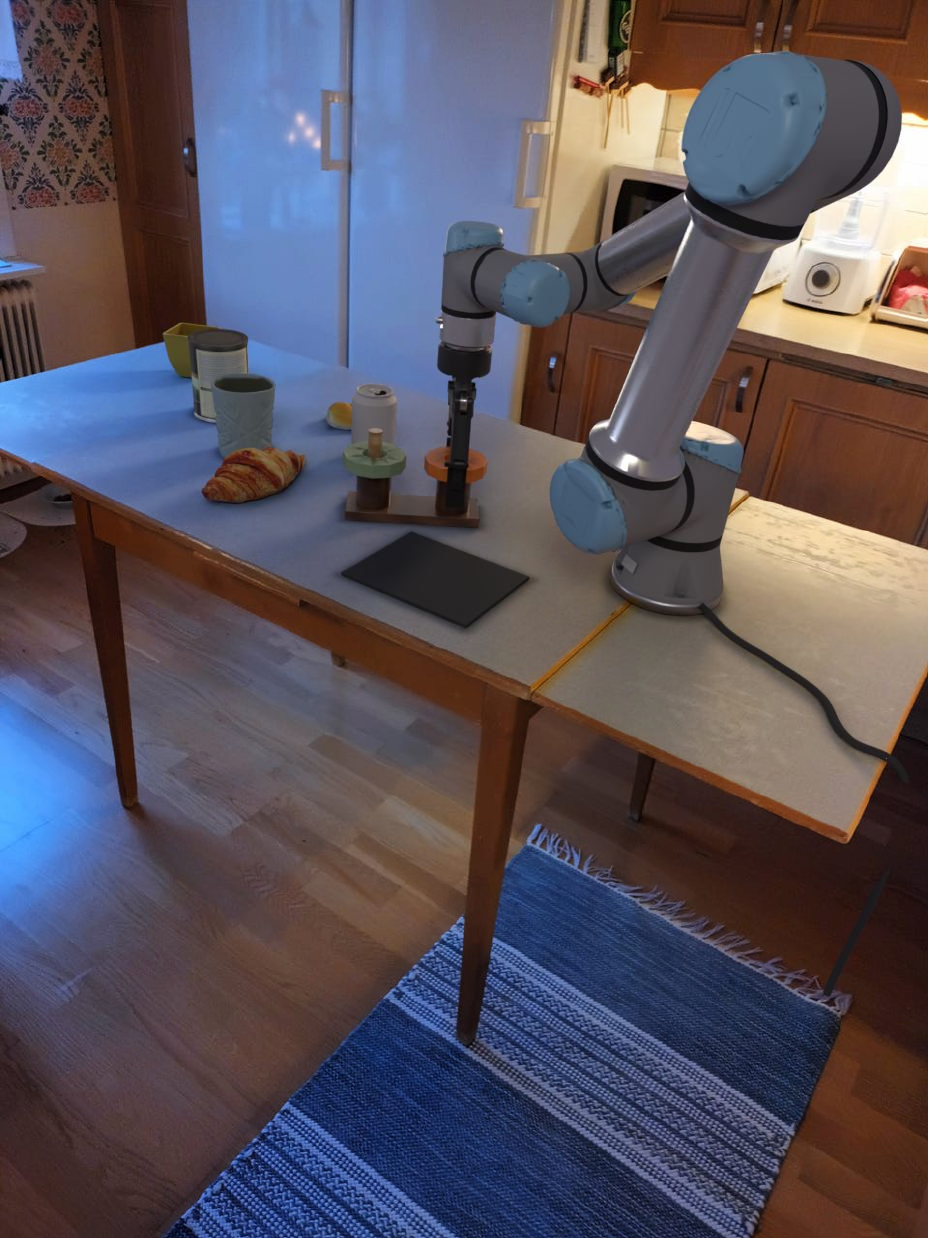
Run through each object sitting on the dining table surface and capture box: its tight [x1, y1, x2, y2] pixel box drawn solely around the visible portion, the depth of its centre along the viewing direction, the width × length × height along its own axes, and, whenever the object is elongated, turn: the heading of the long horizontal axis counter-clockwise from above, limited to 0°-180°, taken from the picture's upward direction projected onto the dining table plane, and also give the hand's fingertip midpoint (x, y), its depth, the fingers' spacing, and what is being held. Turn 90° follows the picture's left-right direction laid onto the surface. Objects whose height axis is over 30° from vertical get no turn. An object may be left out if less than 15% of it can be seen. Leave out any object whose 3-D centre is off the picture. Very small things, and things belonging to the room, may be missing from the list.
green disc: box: [342, 442, 407, 478], centre depth 136 cm, size 9×9×2 cm
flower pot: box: [162, 322, 222, 379], centre depth 184 cm, size 9×9×9 cm
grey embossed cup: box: [211, 373, 276, 459], centre depth 152 cm, size 10×10×12 cm
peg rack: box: [344, 428, 480, 529], centre depth 137 cm, size 20×7×13 cm, turn 92°
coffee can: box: [188, 328, 250, 424], centre depth 166 cm, size 10×10×14 cm
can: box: [350, 383, 398, 446], centre depth 155 cm, size 8×8×12 cm
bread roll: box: [325, 401, 352, 431], centre depth 170 cm, size 8×9×4 cm
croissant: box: [201, 446, 307, 504], centre depth 143 cm, size 21×10×8 cm, turn 146°
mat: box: [341, 531, 530, 629], centre depth 125 cm, size 20×16×1 cm
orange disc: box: [423, 446, 488, 484], centre depth 137 cm, size 9×9×2 cm
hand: (453, 491), depth 139 cm, fingers closed on orange disc, 9 cm apart
